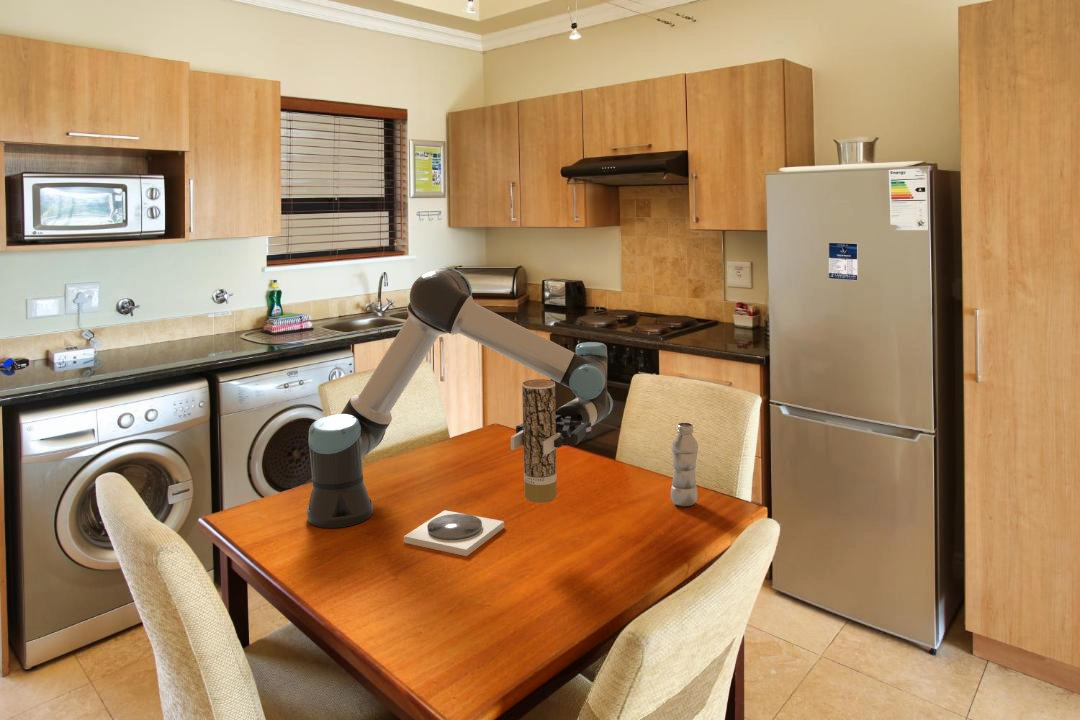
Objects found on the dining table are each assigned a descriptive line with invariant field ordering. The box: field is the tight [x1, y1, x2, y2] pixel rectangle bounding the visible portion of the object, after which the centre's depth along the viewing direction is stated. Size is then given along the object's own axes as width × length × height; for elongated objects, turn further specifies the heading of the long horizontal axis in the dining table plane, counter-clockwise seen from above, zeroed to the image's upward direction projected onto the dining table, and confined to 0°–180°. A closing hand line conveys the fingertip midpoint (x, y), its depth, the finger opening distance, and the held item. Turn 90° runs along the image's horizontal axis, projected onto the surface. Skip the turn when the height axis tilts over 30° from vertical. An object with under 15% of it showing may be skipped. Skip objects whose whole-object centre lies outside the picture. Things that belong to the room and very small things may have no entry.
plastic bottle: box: [670, 422, 699, 507], centre depth 183 cm, size 6×7×20 cm
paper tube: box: [521, 378, 557, 504], centre depth 159 cm, size 7×7×25 cm
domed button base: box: [403, 510, 505, 557], centre depth 169 cm, size 16×16×2 cm
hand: (528, 445), depth 154 cm, fingers closed on paper tube, 7 cm apart
